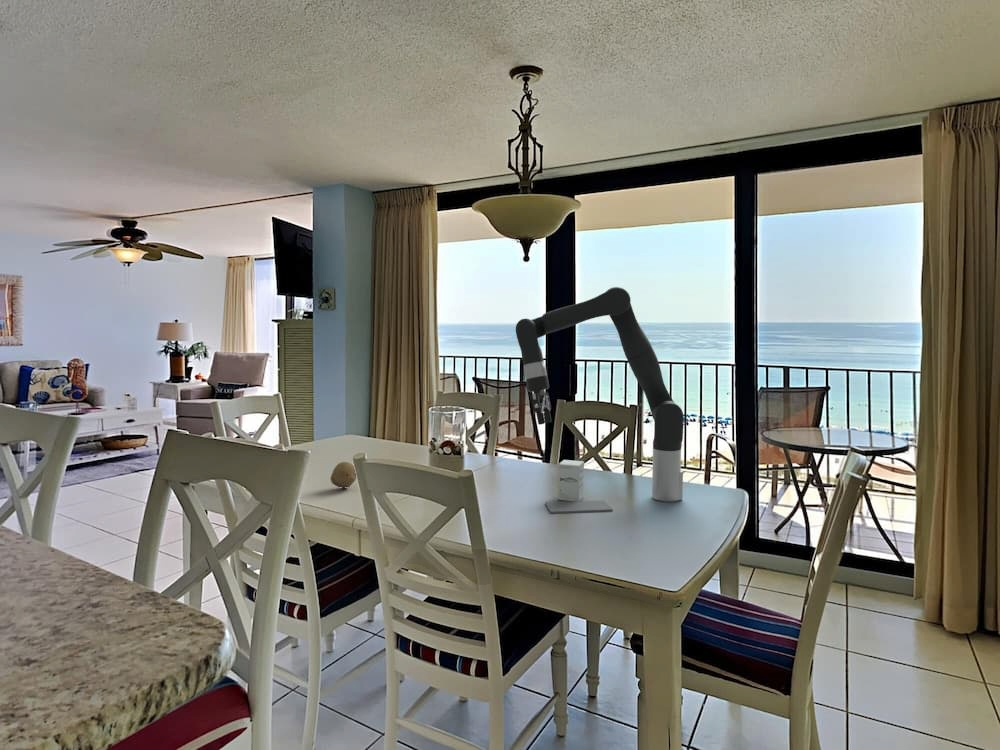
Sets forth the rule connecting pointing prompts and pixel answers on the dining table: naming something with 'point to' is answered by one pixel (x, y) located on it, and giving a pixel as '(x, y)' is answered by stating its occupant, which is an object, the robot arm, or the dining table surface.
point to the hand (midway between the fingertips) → (545, 423)
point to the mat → (578, 506)
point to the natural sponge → (343, 475)
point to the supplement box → (571, 480)
